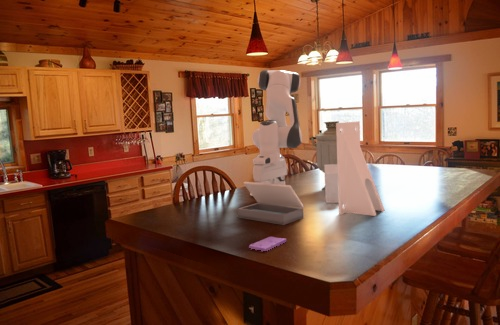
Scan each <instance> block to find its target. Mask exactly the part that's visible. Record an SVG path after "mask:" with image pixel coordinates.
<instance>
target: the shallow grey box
mask: <svg viewBox="0 0 500 325" xmlns="http://www.w3.org/2000/svg"><path fill="white" fill-rule="evenodd" d="M236 211H237V218H239V219H245V220H252V221H257V222H263V223H269V224H274V225H275V224H276V225H282V226H285V225H287V224H291V223H293V222H296V221H298V220H302V219H304V208H299V207H291V206H283V205H275V204H267V203H259V202H256V203H253V204H249V205H245V206H241V207H239V208H236Z"/></svg>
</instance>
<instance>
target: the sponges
mask: <svg viewBox="0 0 500 325" xmlns="http://www.w3.org/2000/svg"><path fill="white" fill-rule="evenodd" d="M285 242H286V243H287V238H282V237H275V236H268V237H266V238H263V239H261V240H259V241H256V242H254V243H251V244H249V245H248V249H249V248H251V249H250V250H252V249H255V250H254V251H257V250H261V251H260V252H263V251H267V252H269V251H271V250H273V249H275V248H277V247H279V246H281V245H283V243H284V244H285ZM280 244H281V245H280ZM276 246H277V247H276ZM274 247H275V248H274ZM272 248H273V249H272ZM270 249H271V250H270ZM268 250H269V251H268Z"/></svg>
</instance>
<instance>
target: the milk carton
mask: <svg viewBox="0 0 500 325" xmlns="http://www.w3.org/2000/svg"><path fill="white" fill-rule="evenodd" d="M324 167H325V173H324V186H325V189H324V190H325V192H324V195H325V203H326V204H339V199H338V168H337V164H332V165H324Z"/></svg>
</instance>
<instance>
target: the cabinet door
mask: <svg viewBox="0 0 500 325" xmlns="http://www.w3.org/2000/svg"><path fill="white" fill-rule="evenodd" d="M243 185H244V186H245V188H246V189H247V191H248V192H249V193H251V194H252V196H251V197H253V198H254V199H255V201H256V203H262V204H270V205H278V206H286V207H294V208H302V209H304V207H305V205H304V204H303V203H302V202H303V201H301V199H300V197H299V196H298V195H297V193H296V191H295V189H293V188H294V187H292V185H291V184H285V185H281V184H269V183H257V182H255V181H254V182H253V181H244V182H243Z"/></svg>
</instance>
